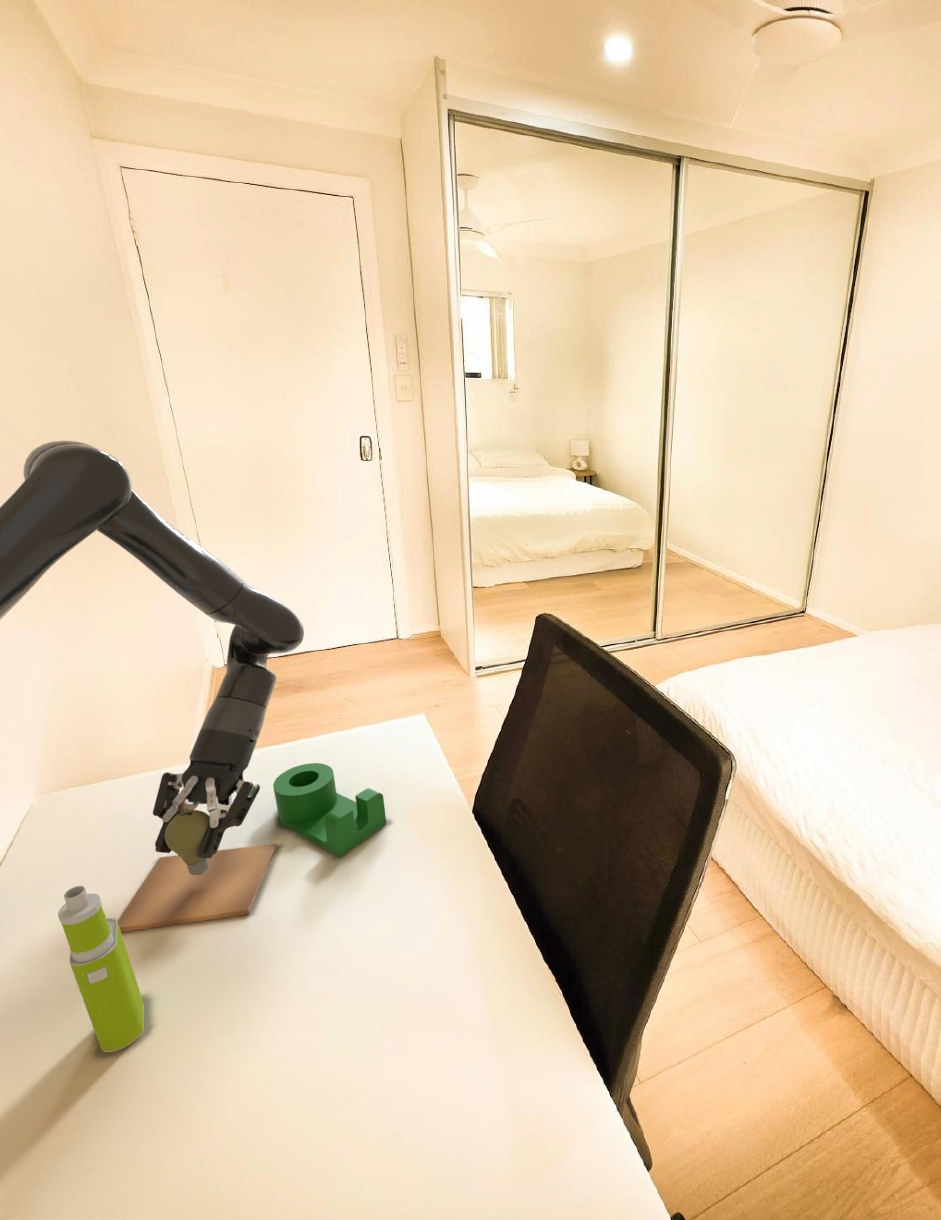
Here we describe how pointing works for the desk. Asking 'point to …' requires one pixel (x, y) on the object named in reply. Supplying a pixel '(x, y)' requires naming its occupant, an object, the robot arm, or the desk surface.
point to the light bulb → (189, 838)
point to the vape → (102, 970)
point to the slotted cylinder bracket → (326, 808)
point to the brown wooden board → (199, 889)
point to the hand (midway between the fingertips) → (183, 854)
